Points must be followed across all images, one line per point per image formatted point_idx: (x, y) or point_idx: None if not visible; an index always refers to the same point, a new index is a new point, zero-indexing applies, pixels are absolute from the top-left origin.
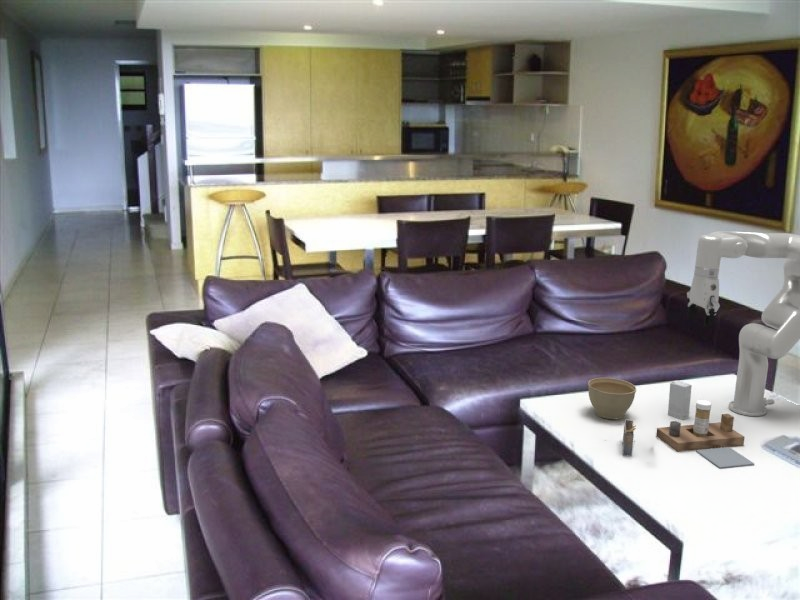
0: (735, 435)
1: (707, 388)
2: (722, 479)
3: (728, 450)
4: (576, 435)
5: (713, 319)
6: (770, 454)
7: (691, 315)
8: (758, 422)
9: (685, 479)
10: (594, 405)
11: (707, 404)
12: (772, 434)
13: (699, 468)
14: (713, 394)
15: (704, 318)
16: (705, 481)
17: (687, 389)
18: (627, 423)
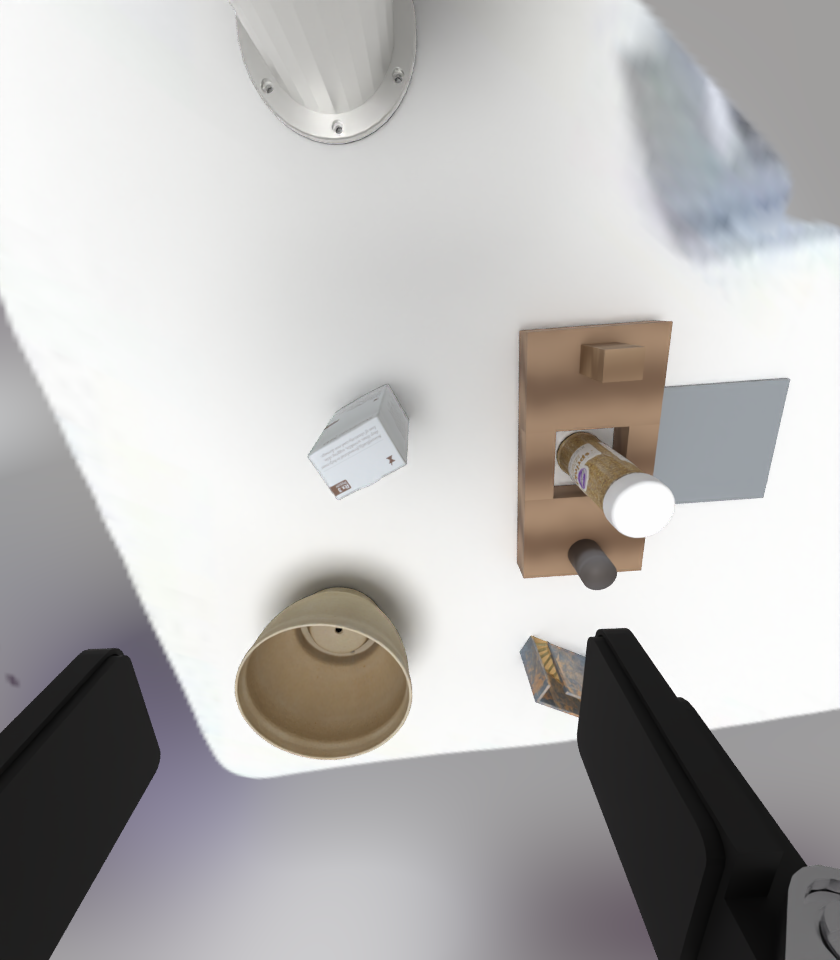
0: (651, 351)
1: (31, 79)
2: (811, 521)
3: (681, 407)
4: (468, 735)
5: (697, 737)
6: (747, 263)
7: (117, 775)
8: (476, 89)
9: (768, 606)
10: (353, 694)
11: (672, 510)
12: (604, 114)
13: (734, 545)
14: (120, 100)
15: (641, 891)
16: (799, 567)
17: (396, 441)
18: (539, 687)
